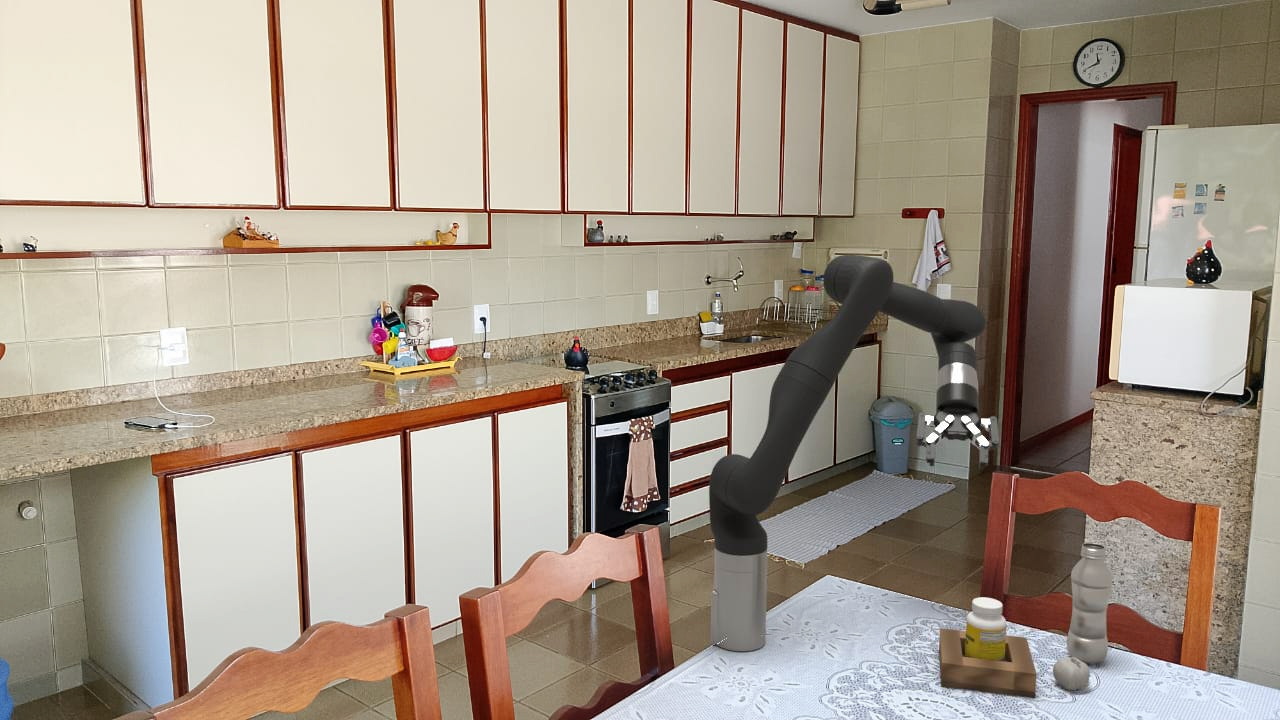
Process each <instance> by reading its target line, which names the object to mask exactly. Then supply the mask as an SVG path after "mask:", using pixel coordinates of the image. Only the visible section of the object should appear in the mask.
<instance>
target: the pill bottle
mask: <svg viewBox="0 0 1280 720" xmlns="http://www.w3.org/2000/svg"><path fill="white" fill-rule="evenodd" d="M971 604H972V605H971V610H972V611H970V612H969V613H968V614H967V616H966V621H965V622H966V624H965V625H966V626H965V631H966V642H965V657H969V658H977V659H986V660H995V661H1003V662H1004V661H1005V643H1006V635H1007V620H1006V618H1005V617H1004V615H1002V614H1003V608H1004V607H1003V603H1002V602H1001V601H1000V600H997V599H996V598H991V597H986V596H985V597H983V596H982V597H976V598H973V600H972V603H971Z"/></svg>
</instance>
